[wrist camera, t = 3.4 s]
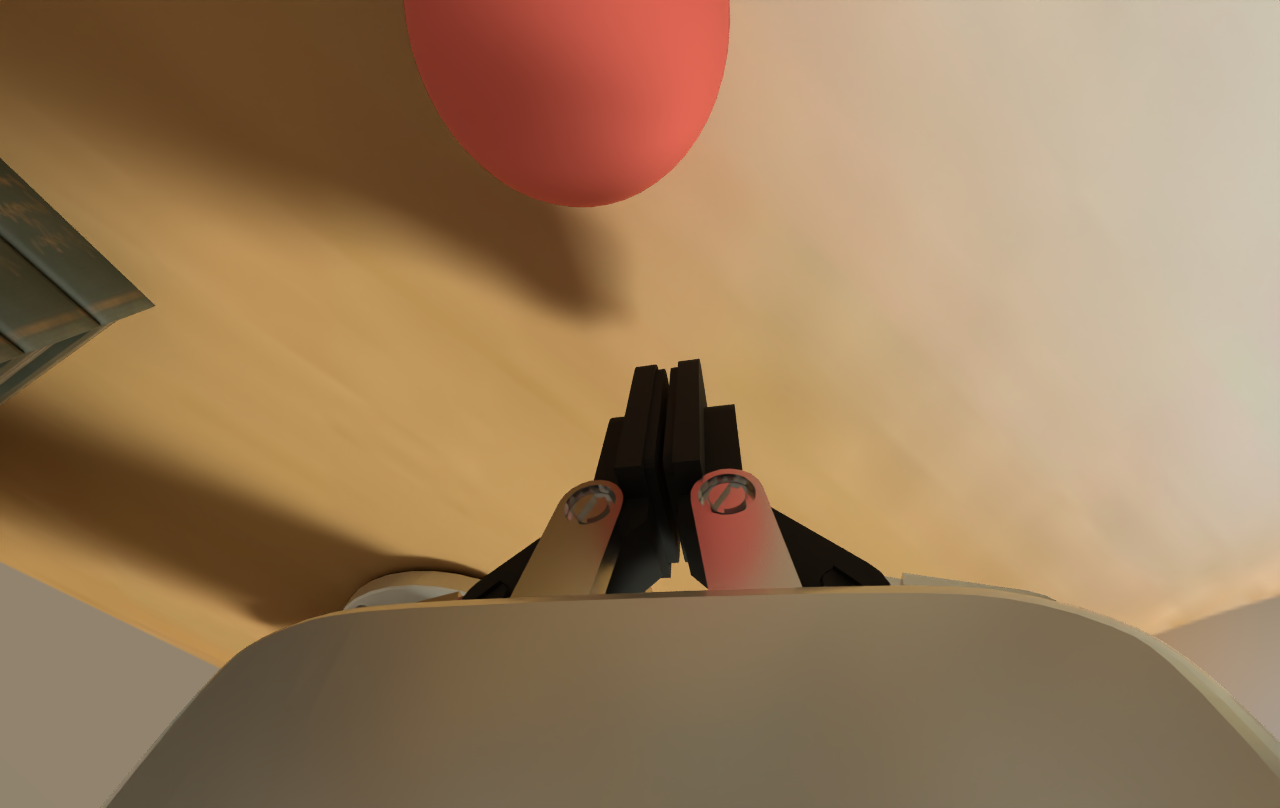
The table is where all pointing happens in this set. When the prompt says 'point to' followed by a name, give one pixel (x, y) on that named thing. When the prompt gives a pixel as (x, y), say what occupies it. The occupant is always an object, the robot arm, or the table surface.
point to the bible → (50, 287)
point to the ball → (572, 87)
